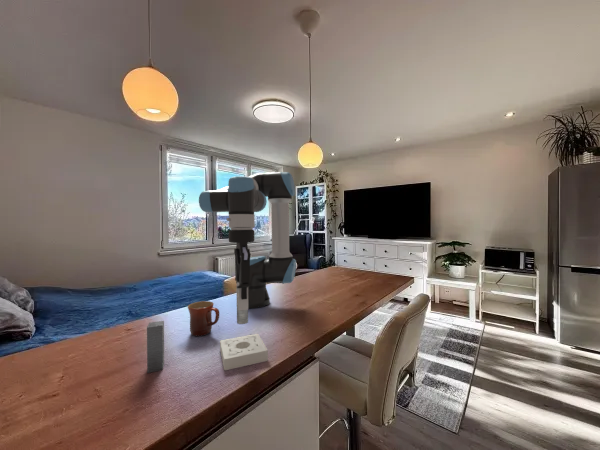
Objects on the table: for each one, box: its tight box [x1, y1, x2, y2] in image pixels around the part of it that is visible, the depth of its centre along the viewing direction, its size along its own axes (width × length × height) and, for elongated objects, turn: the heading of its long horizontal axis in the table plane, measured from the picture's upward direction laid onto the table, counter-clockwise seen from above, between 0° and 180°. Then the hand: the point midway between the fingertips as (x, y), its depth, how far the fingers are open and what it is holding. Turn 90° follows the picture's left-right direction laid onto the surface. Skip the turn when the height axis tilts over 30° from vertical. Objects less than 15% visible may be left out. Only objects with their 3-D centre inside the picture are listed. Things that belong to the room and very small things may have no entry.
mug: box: [187, 300, 220, 337], centre depth 89 cm, size 12×9×10 cm
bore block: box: [219, 333, 269, 371], centre depth 74 cm, size 12×12×3 cm
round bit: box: [236, 281, 249, 325], centre depth 74 cm, size 3×3×12 cm
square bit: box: [146, 320, 165, 374], centre depth 68 cm, size 4×4×12 cm
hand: (242, 307), depth 74 cm, fingers closed on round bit, 3 cm apart
